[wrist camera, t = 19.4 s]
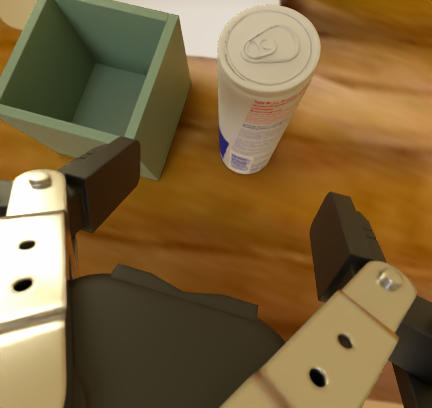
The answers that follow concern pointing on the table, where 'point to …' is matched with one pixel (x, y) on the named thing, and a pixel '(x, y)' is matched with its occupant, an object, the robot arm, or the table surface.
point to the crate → (97, 78)
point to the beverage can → (261, 81)
